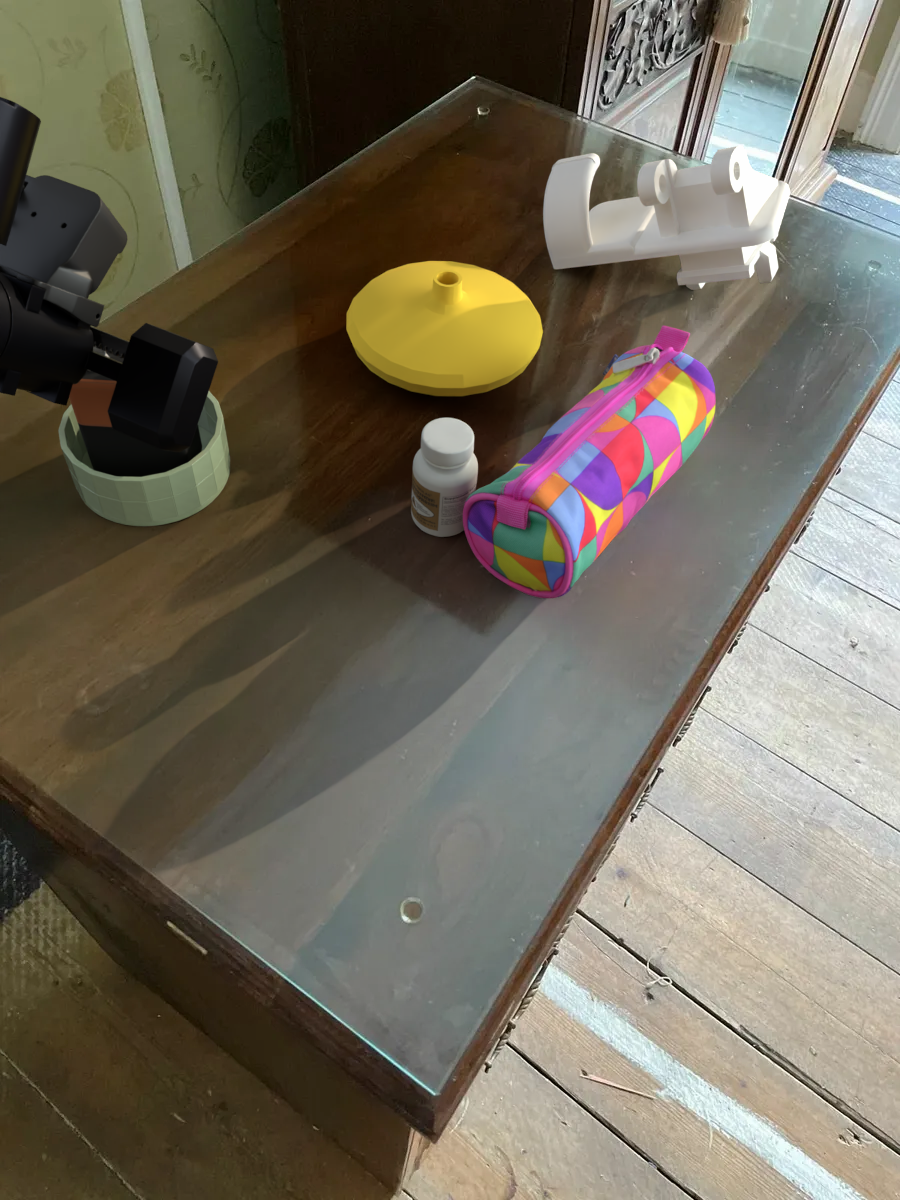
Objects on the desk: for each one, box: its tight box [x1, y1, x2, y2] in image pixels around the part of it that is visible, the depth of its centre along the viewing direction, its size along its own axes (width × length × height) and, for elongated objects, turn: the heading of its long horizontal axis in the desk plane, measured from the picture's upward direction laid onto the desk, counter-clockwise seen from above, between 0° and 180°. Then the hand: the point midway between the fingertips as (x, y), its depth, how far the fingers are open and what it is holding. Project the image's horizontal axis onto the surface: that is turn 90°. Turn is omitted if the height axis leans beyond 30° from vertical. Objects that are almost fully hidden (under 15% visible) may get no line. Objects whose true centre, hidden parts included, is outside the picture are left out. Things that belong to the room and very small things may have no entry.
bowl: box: [57, 391, 231, 527], centre depth 67 cm, size 11×11×4 cm
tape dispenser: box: [542, 145, 791, 291], centre depth 83 cm, size 20×11×13 cm, turn 61°
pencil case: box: [463, 325, 717, 599], centre depth 66 cm, size 22×9×9 cm, turn 145°
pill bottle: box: [410, 417, 479, 538], centre depth 65 cm, size 4×4×8 cm
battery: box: [68, 347, 202, 477], centre depth 64 cm, size 4×7×10 cm, turn 89°
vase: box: [346, 260, 544, 397], centre depth 76 cm, size 16×16×7 cm
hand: (144, 370), depth 63 cm, fingers open, 9 cm apart
